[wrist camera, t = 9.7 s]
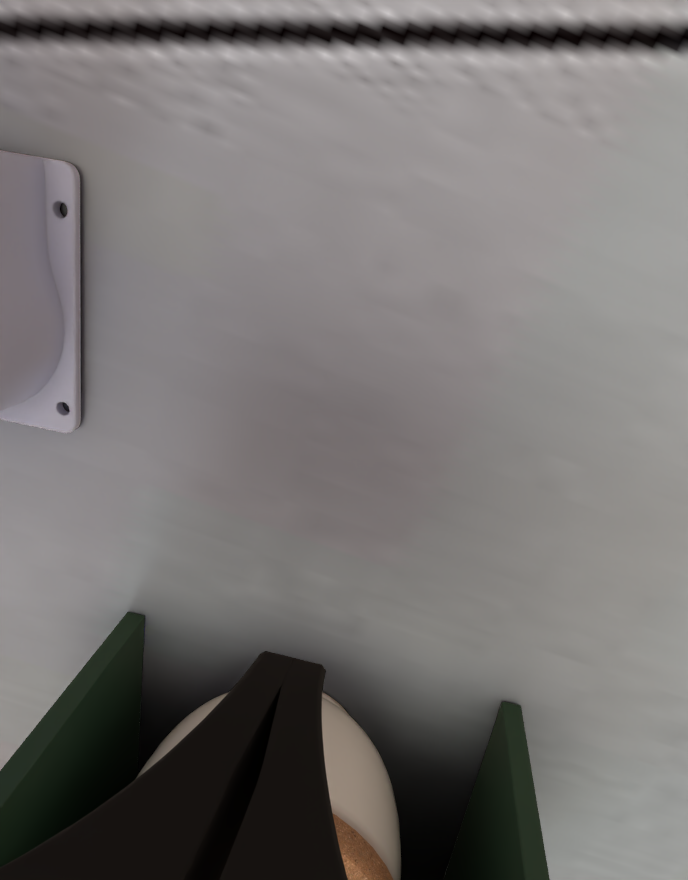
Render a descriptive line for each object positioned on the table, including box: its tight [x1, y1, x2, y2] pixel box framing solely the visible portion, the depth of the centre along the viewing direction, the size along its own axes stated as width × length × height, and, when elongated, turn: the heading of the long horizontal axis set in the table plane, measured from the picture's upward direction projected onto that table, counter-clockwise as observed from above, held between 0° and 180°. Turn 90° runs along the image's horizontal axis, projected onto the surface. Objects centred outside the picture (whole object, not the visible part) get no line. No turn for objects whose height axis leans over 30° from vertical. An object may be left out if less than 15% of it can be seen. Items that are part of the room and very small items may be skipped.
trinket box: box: [136, 692, 401, 880], centre depth 22 cm, size 11×11×9 cm
